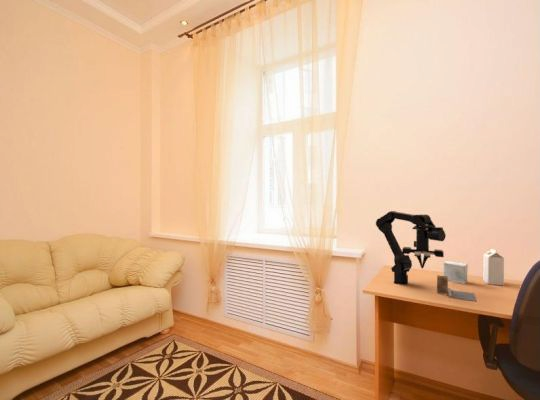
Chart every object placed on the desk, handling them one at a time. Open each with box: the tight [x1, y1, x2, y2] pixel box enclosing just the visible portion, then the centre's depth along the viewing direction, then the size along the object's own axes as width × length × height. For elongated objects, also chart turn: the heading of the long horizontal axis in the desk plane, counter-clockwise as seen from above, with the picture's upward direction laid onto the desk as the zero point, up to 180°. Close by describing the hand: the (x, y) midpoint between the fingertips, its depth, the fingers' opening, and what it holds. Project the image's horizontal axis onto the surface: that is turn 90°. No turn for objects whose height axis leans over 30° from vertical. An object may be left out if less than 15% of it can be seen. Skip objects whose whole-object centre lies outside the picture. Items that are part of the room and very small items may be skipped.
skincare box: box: [443, 260, 469, 285], centre depth 160 cm, size 10×6×10 cm, turn 42°
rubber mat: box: [451, 289, 477, 303], centre depth 137 cm, size 9×12×1 cm
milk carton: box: [482, 248, 505, 286], centre depth 156 cm, size 7×7×19 cm
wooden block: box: [436, 274, 449, 296], centre depth 141 cm, size 4×4×8 cm
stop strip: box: [448, 287, 453, 299], centre depth 139 cm, size 1×12×1 cm, turn 149°
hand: (422, 268), depth 146 cm, fingers closed
